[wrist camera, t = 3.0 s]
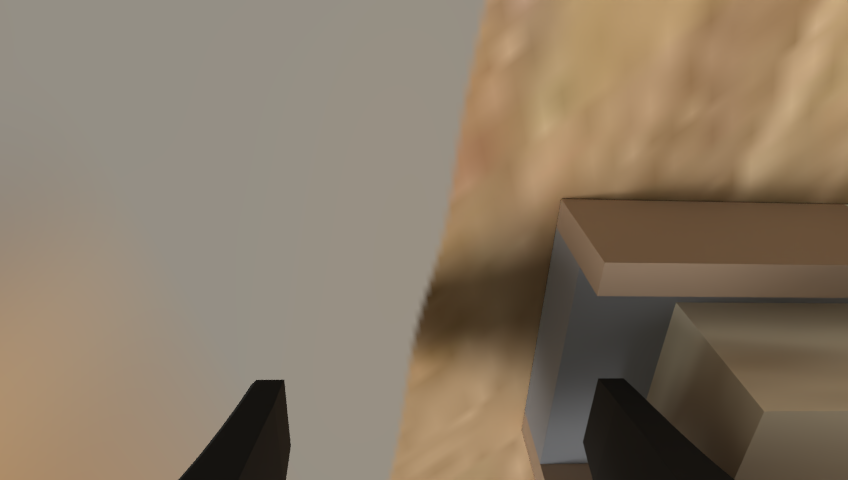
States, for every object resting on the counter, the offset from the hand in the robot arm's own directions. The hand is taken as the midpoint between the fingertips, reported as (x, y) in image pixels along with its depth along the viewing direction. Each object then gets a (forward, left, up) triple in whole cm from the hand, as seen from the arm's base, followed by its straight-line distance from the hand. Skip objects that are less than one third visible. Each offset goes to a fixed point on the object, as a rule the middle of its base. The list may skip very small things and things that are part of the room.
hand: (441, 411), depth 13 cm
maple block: (0, -8, -1) cm, 8 cm away
